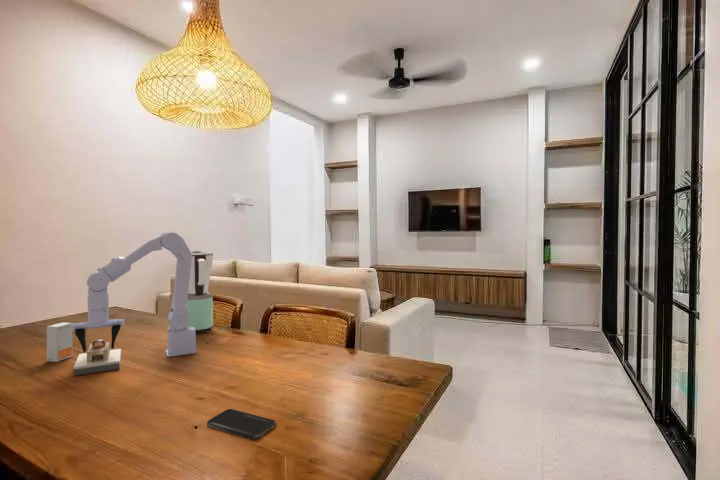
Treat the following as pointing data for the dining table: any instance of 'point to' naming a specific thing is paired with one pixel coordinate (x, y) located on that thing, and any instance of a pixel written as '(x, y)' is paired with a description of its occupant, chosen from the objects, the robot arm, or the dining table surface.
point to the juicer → (200, 292)
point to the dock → (97, 363)
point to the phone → (241, 423)
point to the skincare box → (59, 342)
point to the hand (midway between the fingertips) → (98, 349)
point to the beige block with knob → (98, 353)
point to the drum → (98, 343)
